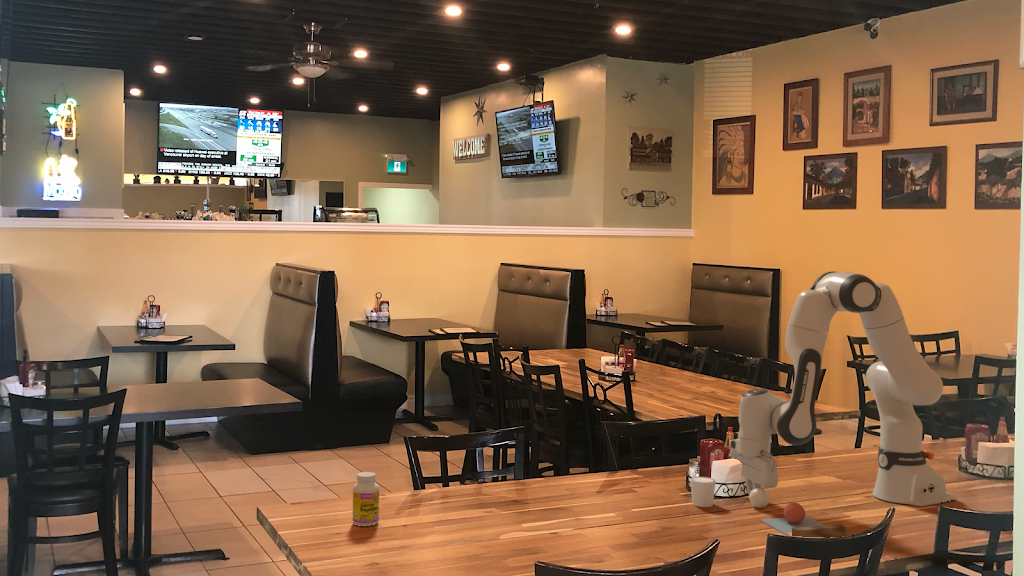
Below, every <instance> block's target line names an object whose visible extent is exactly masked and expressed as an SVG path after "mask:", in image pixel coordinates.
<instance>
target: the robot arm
mask: <svg viewBox="0 0 1024 576" xmlns="http://www.w3.org/2000/svg"><path fill="white" fill-rule="evenodd" d="M838 312H849V313H855V314H856V313H857V314H859V317H860V320H861V323H862V328H863V330H864V332H865V336H866V339H867V342H868V345H869V348H870V350H871V352H872V354H873V355H875V357H876V358H878V359H879V360H880V361H875V362H873V363H872V364H871V365H870V366H869V367H868V368H867V370H866V373H865V383H866V385H867V387H868V388H869V390H870V391H871V393H872V395H873V398H874V400H875V403H876V407H877V409H878V414H879V422H880V423H879V424H880V432H879V433H880V437H879V440H880V441H879V442H880V444H879V447H878V450H877V451H878V452H877V461H878V462H877V463H878V469H877V474H876V481H875V485H874V489H873V490H872V496H874V497H875V498H876V499H880V500H883V501H886V502H891V503H896V504H903V505H904V504H905V505H911V506H915V507H925V506H926V507H927V506H930V505H931V506H932V505H937V504H942V503H941V502H943V503H948V502H947V501H949V502H952V501H951V500H954V501H955V500H956V499H955V496H954V495H953V494H952V493H950V492H948V491H947V485H946V481H945V478H944V476H942V474H940V473H939V472H938V471H936V470H935V469H934V468H933V467H932V466H930V464H928V463H927V459H928V460H933V459H935V455H934V453H933V452H930V451H924V450H923V449H922V448H923V424H922V421H921V419H920V417H918V415H917V414H916V411H915V409H914V406H931V405H934V404H935V403H937V402H938V401H939V400H940V399H941V396H943V395H942V394H943V392H944V383H943V379H942V378H941V376H940V375H939V374H938V373H937V372H935V371H934V370H933V368H931V367H930V365H928V363H927V362H926V360H924V358H923V356H922V355H921V353H920V352H919V350H918V349H917V347H916V346H915V343H914V341H913V339H912V337H911V334H910V332H909V329H908V326H907V323H906V320H905V317H904V314H903V312H902V308H901V305H900V303H899V301H898V299H897V297H896V295H895V294H894V292H893V290H892V288H891V287H890V286H889V285H888V284H886V283H883V282H875V281H873V280H872V278H869V277H868V276H867V275H864V274H862V273H861V274H860V273H859V274H858V273H854V272H849V271H828V272H824V273H822V274H820V275H819V276H818V277H817V278H816V279H815V281H814V282H813V285H812V286H811V287H810V289H806V290H804V291H801V292H800V293H799V294H798V296H797V297H796V300H795V301H794V304H793V307H792V309H791V312H790V315H789V318H788V322H787V326H786V329H785V337H784V338H785V339H784V347H785V351H786V353H787V355H788V356H789V358H790V360H791V363H792V365H793V369H794V380H793V383H792V391H791V397H790V401H789V400H785V399H783V398H780V397H778V396H776V395H774V394H773V393H772V392H770V391H769V390H767V389H764V388H760V389H759V388H757V389H756V388H754V389H749V390H747V391H745V392H743V394H742V395H741V397H740V401H739V406H738V407H739V408H738V423H739V424H738V425H739V431H738V435H737V438H735V439H730V440H729V441H728V442H729V444H728V445H729V448H730V452H729V457H730V456H731V458H734V459H737V460H739V461H740V462H741V463H742V471H741V475H740V476H741V477H743V478H745V480H744V482H745V484H746V488H747V494H748V495H750V493H751V491H752V490H753V489H755V488H762V487H763V488H764V489H770V488H771V489H775V488H777V486H778V485H779V479H778V478H779V477H778V476H779V474H778V465H777V462H776V460H775V459H774V457H773V454H771V435H776V434H777V435H778V436H779V437H781V439H782V440H783V441H785V442H786V443H787V444H789V445H791V446H803V445H804V444H805V445H806V444H807V443H809V442H810V441H811V440H812V439H813V438H814V436H815V434H816V432H817V419H816V414H815V409H816V408H815V407H816V400H817V395H818V388H819V382H820V375H821V370H822V369H821V367H822V363H823V356H824V352H825V347H826V344H827V343H826V342H827V340H828V339H827V338H828V335H829V330H830V326H831V321H832V319H833V317H834V316H835V315H836V313H838Z"/></svg>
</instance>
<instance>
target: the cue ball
mask: <svg viewBox="0 0 1024 576" xmlns="http://www.w3.org/2000/svg"><path fill="white" fill-rule="evenodd" d="M748 495H749V494H748ZM748 498H749V502H750V503H751V505H752V506H753V507H755V508H756V509H762V508H765V507H767V506H768V505H769V502H770V495H769V492H768V491H767V490H766V489H765V488H762V487H760V488H755V489H753V490H752V491H751V493H750V495H749V496H748Z"/></svg>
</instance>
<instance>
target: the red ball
mask: <svg viewBox="0 0 1024 576" xmlns="http://www.w3.org/2000/svg"><path fill="white" fill-rule="evenodd" d="M804 508H805V507H803V506H802V505H801V504H800V503H797V502H790V503H788V504H787V505H785V507H784V509H783V518H785V519H786V520H787V521H788V522H790V523H792V524H798V523H801V522H802V521H803V520H804V518H805V516H806V510H805V509H804Z"/></svg>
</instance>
